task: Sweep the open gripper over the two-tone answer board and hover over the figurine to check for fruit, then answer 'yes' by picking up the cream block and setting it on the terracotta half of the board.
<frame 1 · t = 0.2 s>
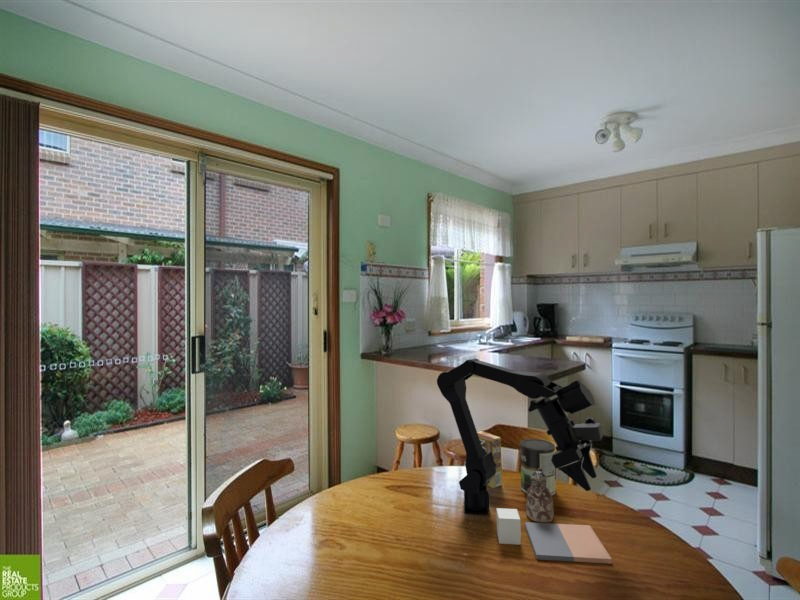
hand: (592, 483, 96), 14 cm above the table, tool tilted 30°, fingers open, 9 cm apart
coffee can: (538, 490, 126), on the table
figurine: (539, 516, 110), on the table
candy box: (487, 483, 132), on the table
answer board: (564, 543, 97), on the table
cream block: (508, 538, 100), on the table
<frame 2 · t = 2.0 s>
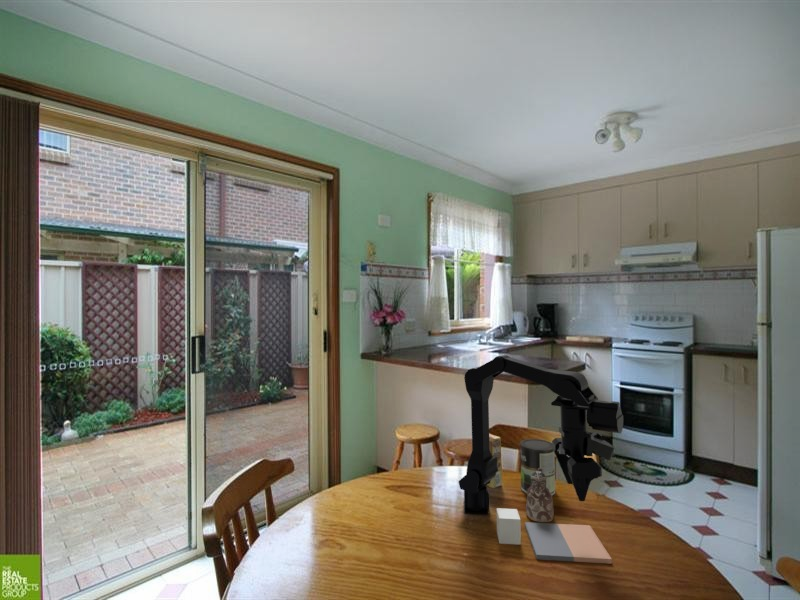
hand: (575, 492, 97), 12 cm above the table, tool pointing down, fingers open, 9 cm apart
nothing on the table moved.
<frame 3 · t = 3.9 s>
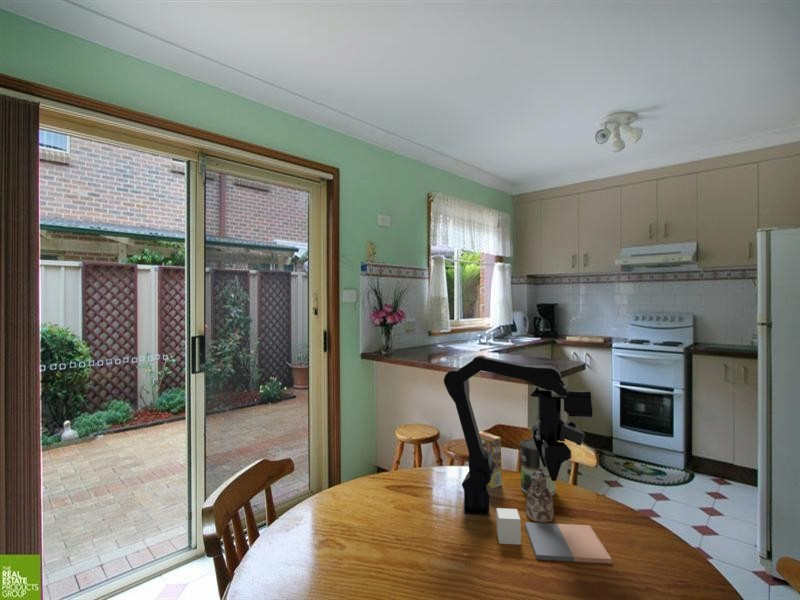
hand: (549, 473, 107), 12 cm above the table, tool pointing down, fingers open, 9 cm apart
nothing on the table moved.
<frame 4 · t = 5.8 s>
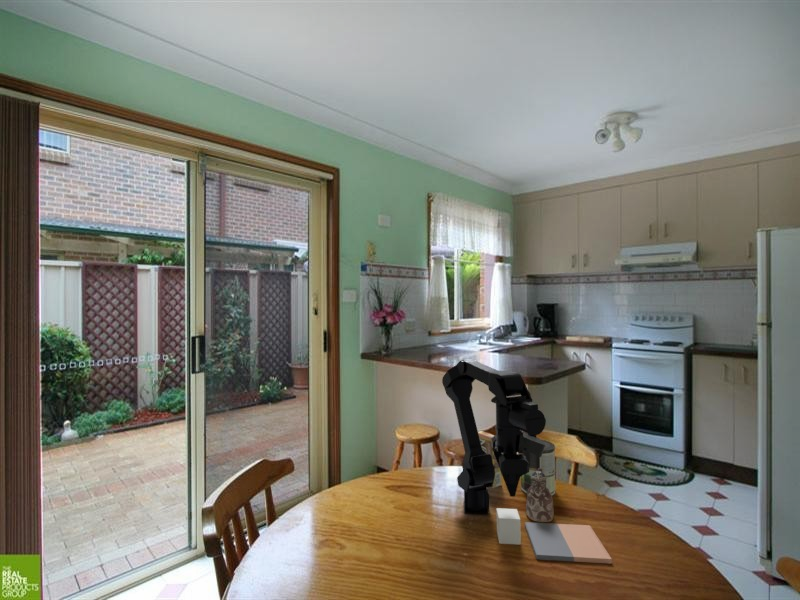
hand: (509, 487, 100), 12 cm above the table, tool pointing down, fingers open, 9 cm apart
nothing on the table moved.
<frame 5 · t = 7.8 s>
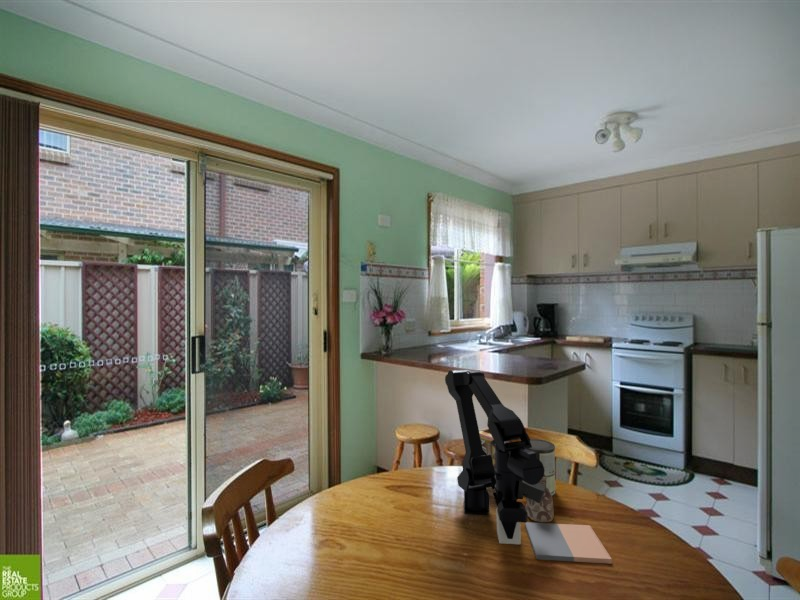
hand: (508, 532, 100), 1 cm above the table, tool pointing down, fingers closed on cream block, 5 cm apart
cream block: (508, 538, 100), on the table, touching gripper
everything else where it was.
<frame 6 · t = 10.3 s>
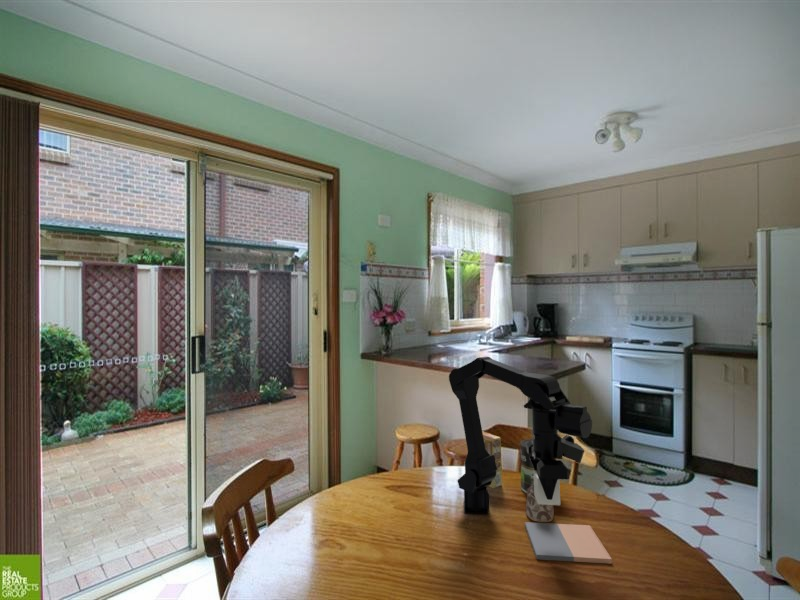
hand: (546, 494, 98), 11 cm above the table, tool pointing down, fingers closed on cream block, 5 cm apart
cream block: (546, 499, 98), point 10 cm above the table, touching gripper
everything else where it was.
when the fingers open (4 cm above the table, at t = 13.1 s): cream block drops 1 cm, resting on answer board.
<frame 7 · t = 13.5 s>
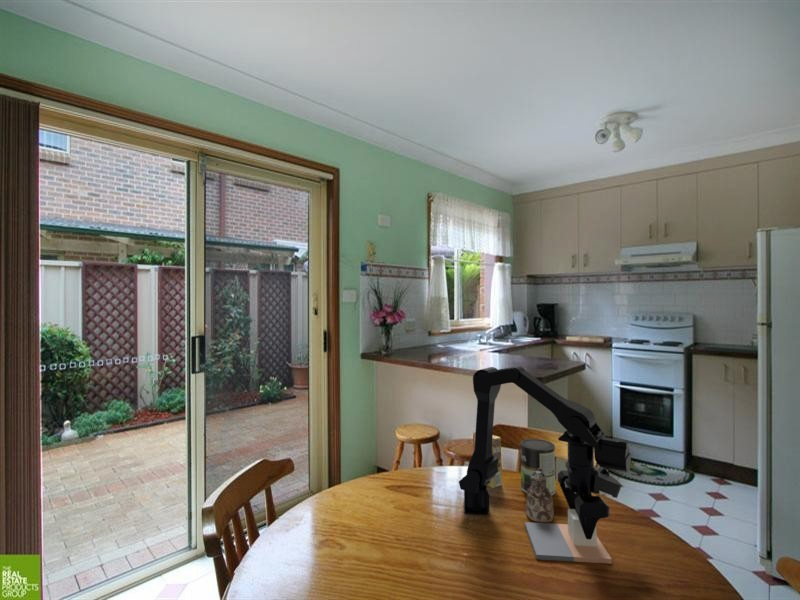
hand: (581, 528, 97), 4 cm above the table, tool pointing down, fingers open, 9 cm apart
cream block: (582, 539, 97), point 1 cm above the table, touching answer board
everything else where it was.
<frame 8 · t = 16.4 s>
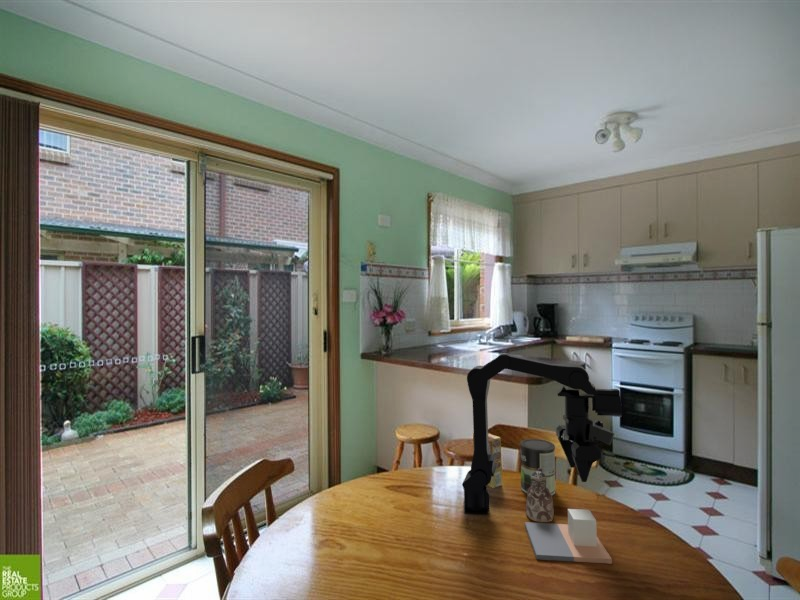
hand: (578, 474, 106), 13 cm above the table, tool pointing down, fingers open, 9 cm apart
nothing on the table moved.
at the end: cream block inside the target area on the answer board (0.6 cm from its centre), point 1.0 cm above the answer board's base; the gripper is holding nothing; cream block tilted 0° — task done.
